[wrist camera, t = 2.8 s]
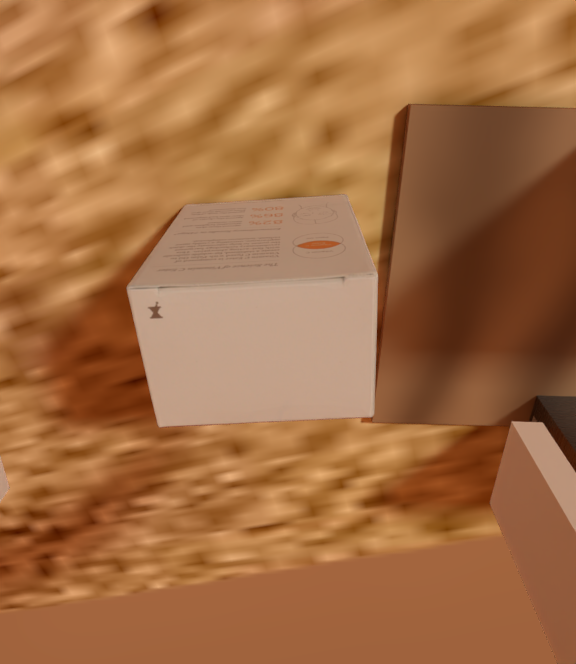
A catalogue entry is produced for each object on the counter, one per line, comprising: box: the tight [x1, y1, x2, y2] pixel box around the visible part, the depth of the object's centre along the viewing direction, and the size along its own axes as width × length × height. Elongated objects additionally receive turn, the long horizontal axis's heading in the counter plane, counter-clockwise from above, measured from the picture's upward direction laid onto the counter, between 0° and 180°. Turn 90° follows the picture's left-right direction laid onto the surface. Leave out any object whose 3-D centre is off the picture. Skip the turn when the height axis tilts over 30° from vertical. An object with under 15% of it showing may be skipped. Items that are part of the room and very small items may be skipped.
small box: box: [126, 194, 378, 428], centre depth 22 cm, size 8×6×10 cm
